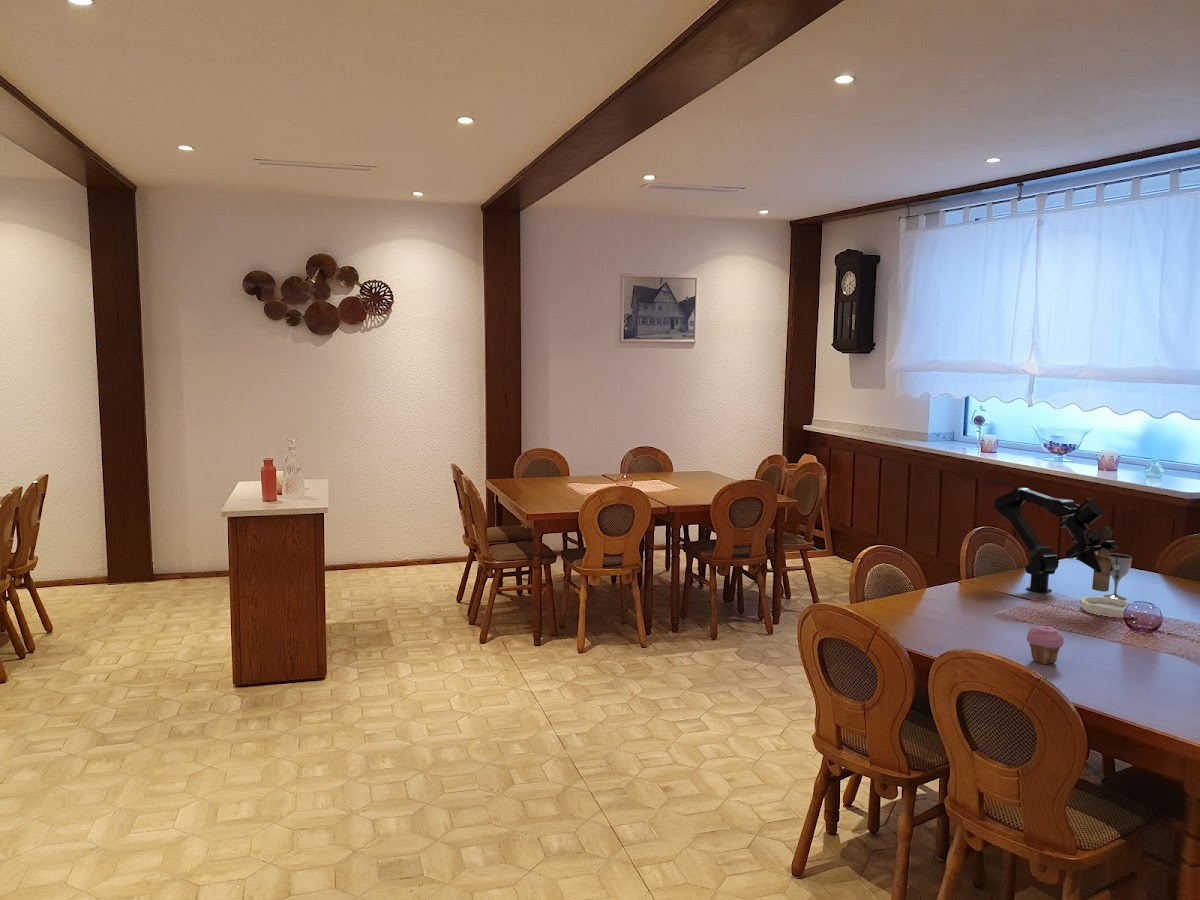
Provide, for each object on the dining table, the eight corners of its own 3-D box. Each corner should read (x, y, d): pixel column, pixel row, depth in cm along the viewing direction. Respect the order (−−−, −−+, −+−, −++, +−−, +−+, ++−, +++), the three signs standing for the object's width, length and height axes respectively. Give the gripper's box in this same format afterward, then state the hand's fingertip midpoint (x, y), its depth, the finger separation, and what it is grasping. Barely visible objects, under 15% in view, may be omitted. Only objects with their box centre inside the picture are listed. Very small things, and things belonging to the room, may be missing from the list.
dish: (1092, 601, 300) (1093, 593, 300) (1144, 613, 288) (1144, 604, 287) (1071, 609, 290) (1072, 601, 290) (1123, 621, 278) (1124, 612, 277)
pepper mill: (1092, 586, 294) (1096, 546, 292) (1108, 589, 291) (1112, 548, 290) (1091, 589, 290) (1095, 549, 288) (1108, 592, 287) (1112, 551, 286)
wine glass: (1123, 601, 301) (1127, 559, 299) (1098, 596, 307) (1102, 555, 305) (1131, 598, 306) (1135, 556, 305) (1106, 593, 312) (1110, 552, 310)
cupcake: (1045, 669, 232) (1048, 632, 231) (1017, 658, 240) (1020, 623, 239) (1068, 665, 236) (1071, 629, 235) (1041, 654, 244) (1043, 620, 242)
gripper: (1076, 519, 288) (1103, 560, 279) (1116, 517, 295) (1143, 556, 286) (1053, 538, 296) (1079, 578, 287) (1093, 535, 303) (1119, 574, 294)
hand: (1105, 571), depth 289 cm, fingers closed on pepper mill, 5 cm apart
